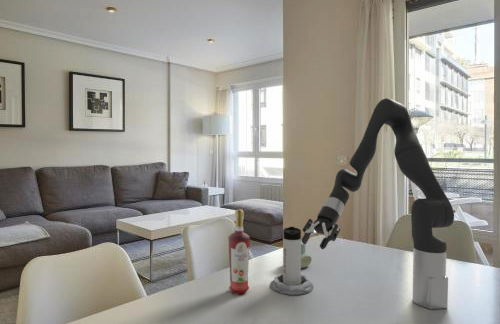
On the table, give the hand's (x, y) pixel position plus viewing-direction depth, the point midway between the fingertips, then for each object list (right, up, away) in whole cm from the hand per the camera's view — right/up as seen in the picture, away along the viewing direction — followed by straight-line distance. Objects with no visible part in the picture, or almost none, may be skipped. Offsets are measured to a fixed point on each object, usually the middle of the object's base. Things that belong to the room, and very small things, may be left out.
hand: (312, 245), depth 128 cm
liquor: (-27, -13, -11) cm, 32 cm away
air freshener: (-3, -12, +15) cm, 19 cm away
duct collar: (-8, -13, -7) cm, 17 cm away
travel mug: (-8, -13, -6) cm, 16 cm away
